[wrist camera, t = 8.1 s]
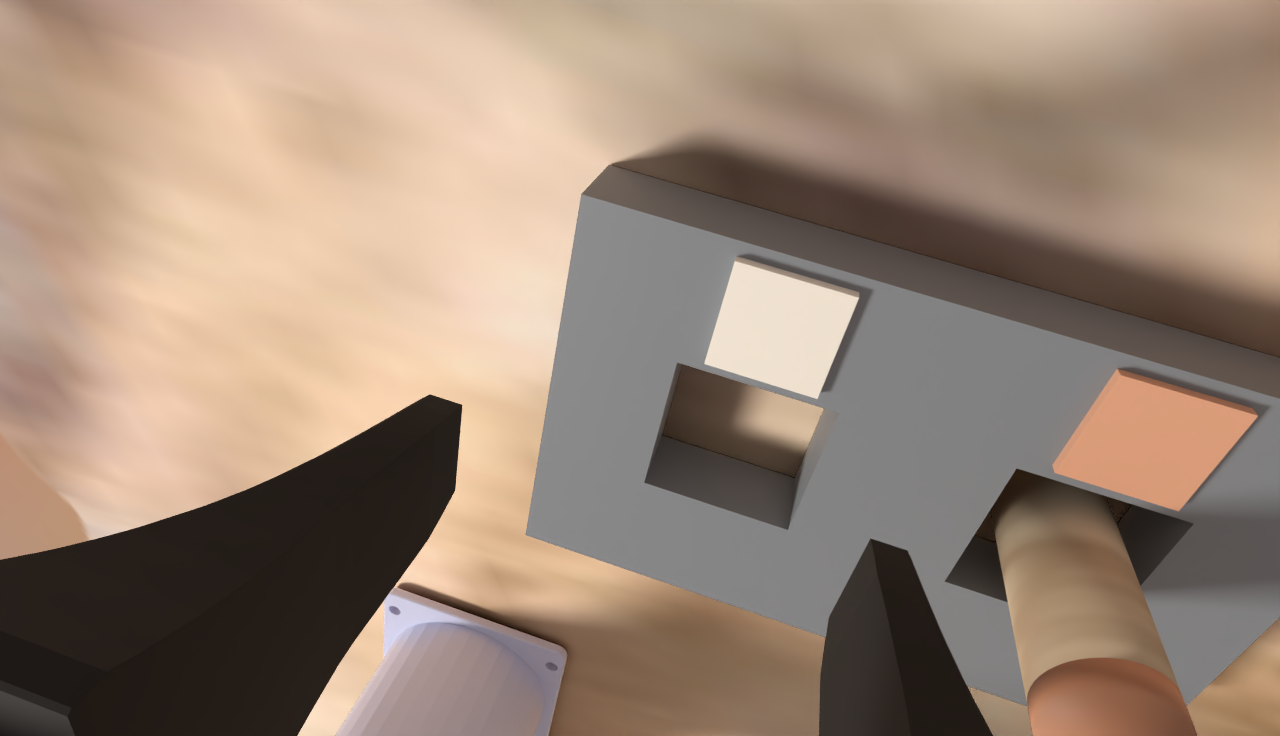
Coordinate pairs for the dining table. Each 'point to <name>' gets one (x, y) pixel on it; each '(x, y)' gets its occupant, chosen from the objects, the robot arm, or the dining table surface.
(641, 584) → the dining table surface
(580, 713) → the dining table surface
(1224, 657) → the socket board
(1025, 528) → the plug
